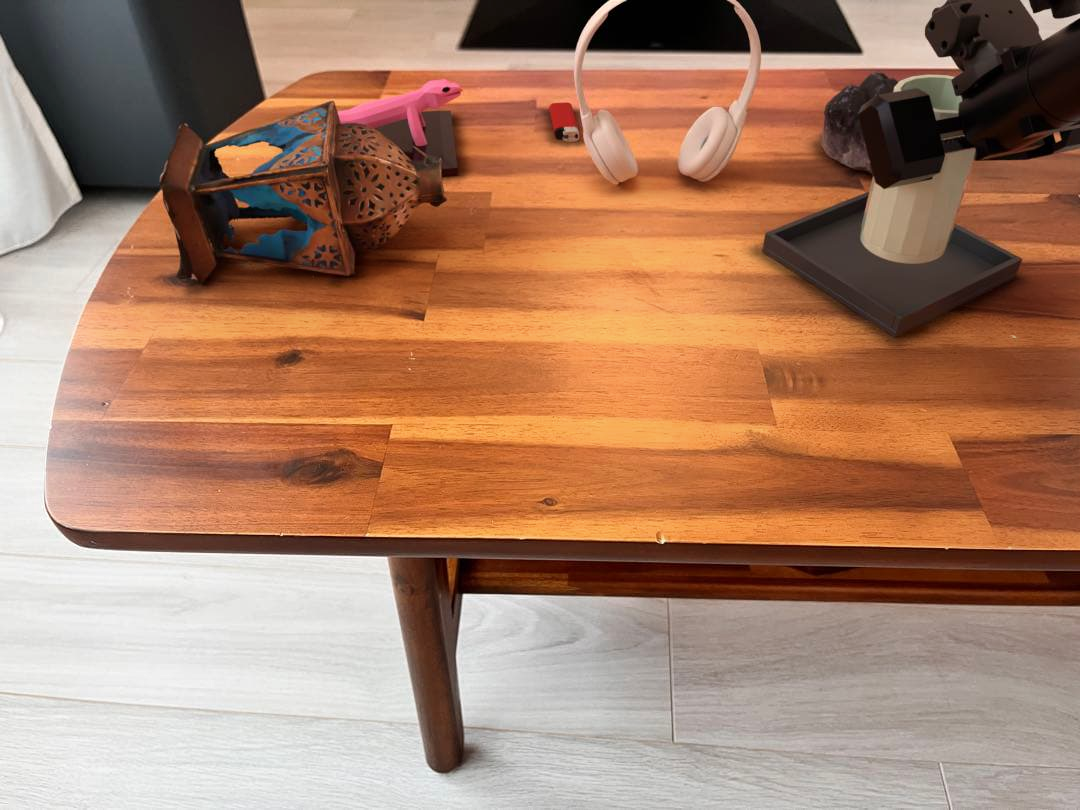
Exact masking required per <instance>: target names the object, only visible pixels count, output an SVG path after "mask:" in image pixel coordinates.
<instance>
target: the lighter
mask: <svg viewBox="0 0 1080 810" xmlns="http://www.w3.org/2000/svg"><path fill="white" fill-rule="evenodd" d="M548 110H549V114H550V119H551V125H552V128H553V133H554V137H555V138H556V139H557V140H563V142H566V143H574V142H578V140H580V132H579V131H580V130H579V128H578V124H577V120H576V116H575V112H574V109H573V105H572V103H570V102H567V101H565V102H552V103H550V104H549V107H548Z"/></svg>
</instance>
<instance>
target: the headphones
mask: <svg viewBox="0 0 1080 810" xmlns="http://www.w3.org/2000/svg"><path fill="white" fill-rule="evenodd" d="M626 1H627V0H607V2H605V3H604V4H603V5H602V6H601V7H600V8H598V9H597V10H596V11H595V13H594V14H593V15H592V16H591V17H590V19H588V21H587V23H586V24H585V26H584V28H583V29H582V31H581V33H580V36H579V38H578V40H577V43H576V47H575V52H574V58H573V81H574V87H575V93H576V97H577V101H578V105H579V114H580V119H581V124H582V132H583V134H582V135H583V137H582V138H583V141H584V145H585V147H586V150H587V152H588V154H589V156H590V158H591V159H592V162H593V163H594V165H595V167H596V168H597V170H598V171H599V172H600V174H601V175H602V176H603V177H604V178H605V179H606V180H607V181H609V182H610V183H611V184H612V185H618V184H620V183H624V182H625V181H627V180H629V179H633V178H635V177H636V176H637V175H638V173H639V168H638V163H637V160H636V158H635V156H634V152H633V151H632V148H631V146H630V143H629V141H628V140H627V138H626V135H625V134H624V132H623V131H622V128H621V127H620V125H619V123H618V122H617V121H616V119H615V117H614V116H613V115H612V113H610V112H609V111H608V110H607V109H600V110H598V112H597V114H596V115H594V116H593V113H592V110H591V108H590V107H589V104H587V101H586V97H585V94H584V88H583V64H584V58H585V55H586V52H587V50H588V46H589V44H590V42H591V40H592V38H593V36H595V33H596V32H597V30H598V29H599V28H600V26H602V24H603V23H604V22H605V20H606V19H607V18H608V15H609V12H610V11H611V10H613V9H614V8H616V7H617V6H618V5H620V4H622V3H624V2H626ZM727 2H729V3H730V4H732V5H733V6H734V7H733V9H734V11H735V13H736V14H737V15H738V17H739V18H740V20H741V21H742V23H743V25H744V27H745V30H746V32H747V35H748V38H749V47H750V56H749V57H750V58H749V65H748V71H747V75H746V79H745V81H744V85H743V87H742V90H741V92H740V94H739V97H738V98H736V99H734V101H733V102H732V103H731V105H729V108H728V112H727V110H726V109H725V108H724V107H722V106H718V105H717V106H712V107H710V108H709V109H706V110H705V111H704V112H703V113H702V114H700V116H699V117H698V118H697V119H696V120H695V121H694V123H693V124H692V125H691V127H690V128H689V129H688V132H687V133H686V135H685V136H684V138H683V141H682V144H681V146H680V149H679V152H678V157H677V167H678V170H679V172H680V173H681V174H682V175H683V176H686V177H690V178H691V179H694V180H697V181H699V182H701V183H705V182H708V181H710V180H712V179H713V178H715V177H716V176H717V175H718V174H719V173H720V172H722V170H723V169H724V168H725V167H726V166H727V165H728V163H729V162H730V160H731V159H732V157H733V155H734V154H735V151H736V149H737V147H738V144H739V140H740V138H741V136H742V134H743V130H744V127H745V122H746V118H747V114H748V111H747V109H748V107H749V104H750V103H751V99H752V98H753V95H754V93H755V89H756V88H757V87H756V86H757V83H758V81H759V76H760V71H761V67H762V66H761V63H762V47H761V41H760V36H759V33H758V30H757V28H756V25H755V24H754V21H753V19H752V18H751V16H750V15H749V13H748V12H747V11H746V9H745V8H744V7H743V6H742V5H741V3H740V2H738V1H737V0H727Z"/></svg>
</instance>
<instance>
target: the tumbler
mask: <svg viewBox="0 0 1080 810" xmlns="http://www.w3.org/2000/svg"><path fill="white" fill-rule="evenodd" d="M954 77H955V76H952V75H949V74H948V75H945V74H921V75H913V76H909V77H906V78H904V79H901V80H900V81H898V84H897V85H896V86H895V87H894V90H893V92H898V91H903V90H909V89H915V88H919V89H920V90H922V91H923V92H925V93H927V94H928V95H930V99H931V103H932V107H933V110H934V114H935V118H936V120H941V119H947V118H952V117H957V116H958V109H959V106H958V104H959V103H960V102H961V101H962V97H961V96H956V95H955V92H954V89H953V85H952V81H951V79H953V78H954ZM960 136H965V135H960ZM960 136H955V137H949V138H944V139H941V140H946V139H951V138H956V137H958V138H959V137H960ZM976 155H977V153H976V149H970V150H965V151H960V152H955V153H950V154H945V159H944V162H943V165H942V168H941V172H940V173H938V174H936V175H934V176H932V178H933V179H931V180H927V181H922V182H917V183H912V184H908V185H902V186H897V187H892V188H887V189H883V188H882V187H880V186H879V185H878V184H876V183H875V179H874V177H873V176H872V179H871V183H870V188H869V191H870V192H869V191H868V192H869V196H868V200H867V204H866V209H865V213H864V217H863V221H862V226H861V227H862V229H861V233H860V239H861V242H862V244H863V245H864V247H865V248H866V249H867V250H869V251H870V252H871V253H873V254H875V255H877V256H879V257H881V258H883V259H886V260H889V261H893V262H898V263H906V264H920V263H927V262H931V261H934V260H936V259H938V258H939V257H941V256H942V255H943V254H944V253H945V251H946V248H947V245H948V242H949V241H950V238H951V234H952V231H953V228H954V225H955V224H956V221H957V218H958V215H959V212H960V208H961V205H962V203H963V199H964V196H965V192H966V189H967V186H968V184H969V180H970V178H971V174H972V170H973V167H974V164H975V162H976V161H975V158H976Z"/></svg>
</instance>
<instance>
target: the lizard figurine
mask: <svg viewBox="0 0 1080 810" xmlns="http://www.w3.org/2000/svg"><path fill="white" fill-rule="evenodd" d="M462 92H464V90H463V89H462V88H461V85H460V84H458V83H457V82H451V81H449V80H448V79H446V78H442V79H437V80H436V79H432V80H429V81H428V82H426V83H424V84H423V85H422V87H420V88H418V89H416V90H413V91H409V92H406V93H403V94H399V95H394V96H389V97H385V98H379V99H375V100H370V101H366V102H362V103H360V104H358V105H356V106H354V107H352V108H351V107H350V108H349V109H343V110H337V112H338V116H339V119H340V122H341V124H342V123H343V124H344V123H359V124H364V125H367V126H370V127H372V128H374V129H375V130H377V131H379V132H380V133H381V134H382V135H384V136H385V137H386V138H388V139H389V140H391V141H392V142H393V143H394V144H395V145H397V146H398V147H399V148H400V149H401V150H402V151H403V153H404V154H405V155H406V156H407V157H409V158H410V159H411V160H412V161H413V163H415V164H420V163H422V162H423V161H424V158H423V155H422V154H421V153H418V152H417V150H416V149H414V148H413V147H411V146H410V145H408V144H407V143H406V142H408V143H409V144H411V145H413V146H415V147H416V148H418V149H419V150H421V151H422V152H423V153H425V154H426V155H428V156H435V157H438V158H440V159H442V164H441V173H442V177H454V176H459V172H458V171H459V170H458V169H459V168H458V162H457V161H458V160H457V153H456V152H457V151H456V142H455V135H454V127H453V116H452V111H451V110H429V111H427V109H440V108H441V107H443V106H444V105H446V104H449V103H450V102H452V101H453V100H455V99H458V98H460V96H461V95H462ZM425 110H426V111H425ZM404 140H405V141H406V142H404Z"/></svg>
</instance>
